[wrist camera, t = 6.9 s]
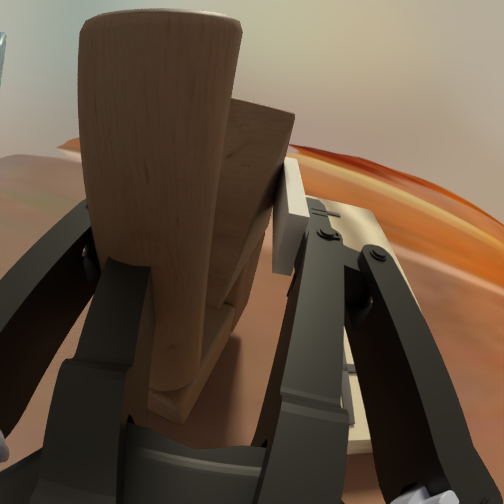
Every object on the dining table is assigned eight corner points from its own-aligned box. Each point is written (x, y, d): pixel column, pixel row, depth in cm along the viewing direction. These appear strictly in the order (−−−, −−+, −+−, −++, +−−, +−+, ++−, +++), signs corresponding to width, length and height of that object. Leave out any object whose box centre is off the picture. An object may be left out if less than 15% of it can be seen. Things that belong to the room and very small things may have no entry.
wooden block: (248, 302, 23) (314, 40, 11) (183, 428, 15) (190, 3, 3) (204, 284, 23) (239, 26, 11) (128, 399, 15) (42, 24, 3)
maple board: (314, 455, 15) (335, 439, 13) (295, 214, 39) (301, 192, 38) (435, 443, 16) (462, 425, 14) (363, 229, 40) (371, 209, 38)
